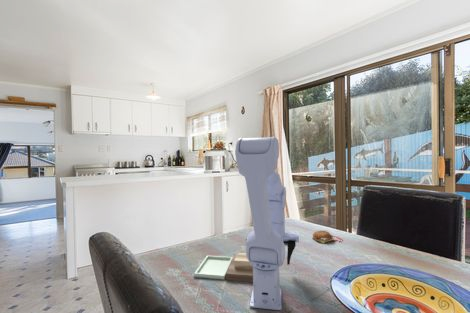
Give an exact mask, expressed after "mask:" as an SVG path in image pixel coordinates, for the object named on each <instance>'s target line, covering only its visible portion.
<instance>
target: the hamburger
mask: <svg viewBox="0 0 470 313" xmlns="http://www.w3.org/2000/svg"><path fill="white" fill-rule="evenodd" d="M335 237H336V238H335ZM311 238H312V239H313V240H315V241H316V242H318V243H322V244H325V243H330V241H334V242H338V241H339V243H342V241H344V240H343V238H340V237H338V236H334V235H332V234H331V233H330V232H329V231H328V230H321V229H320V230H317V231H314V232H313V234H312V237H311ZM341 240H342V241H341Z"/></svg>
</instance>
